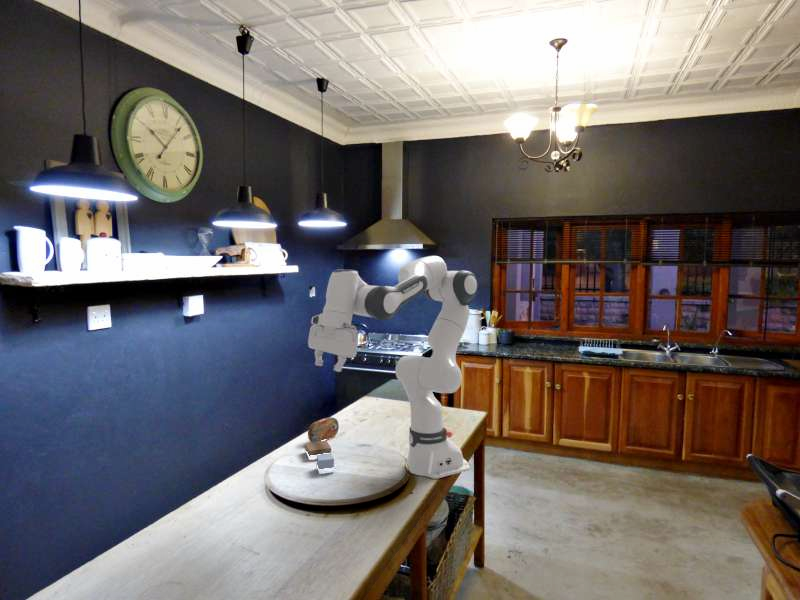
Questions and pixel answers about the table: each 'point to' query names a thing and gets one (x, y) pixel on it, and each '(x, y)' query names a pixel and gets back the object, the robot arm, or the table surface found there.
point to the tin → (323, 429)
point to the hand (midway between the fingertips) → (327, 368)
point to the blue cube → (325, 461)
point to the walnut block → (317, 447)
